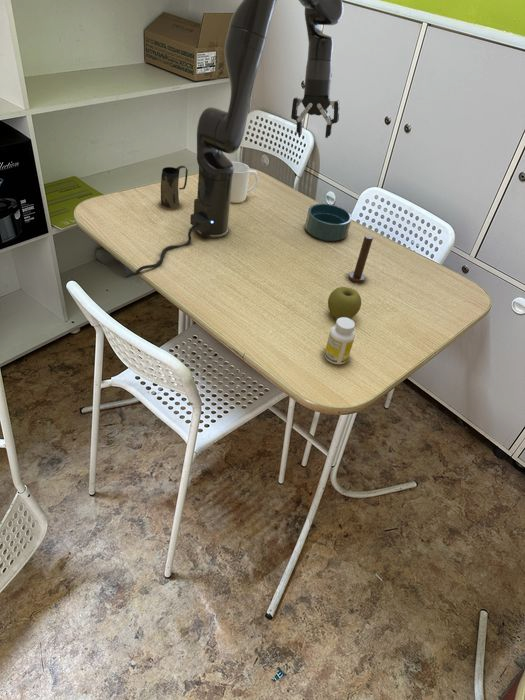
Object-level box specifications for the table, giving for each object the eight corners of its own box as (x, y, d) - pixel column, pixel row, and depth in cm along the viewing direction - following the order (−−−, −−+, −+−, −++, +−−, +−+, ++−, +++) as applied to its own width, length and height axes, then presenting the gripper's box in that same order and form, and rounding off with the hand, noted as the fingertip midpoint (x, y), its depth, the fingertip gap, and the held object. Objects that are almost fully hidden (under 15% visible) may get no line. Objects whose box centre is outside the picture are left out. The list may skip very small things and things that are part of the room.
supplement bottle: (345, 349, 119) (356, 316, 113) (349, 366, 115) (360, 332, 108) (322, 347, 118) (331, 314, 112) (325, 364, 114) (335, 330, 108)
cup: (217, 192, 171) (219, 161, 164) (251, 190, 175) (254, 161, 168) (225, 203, 165) (228, 173, 159) (260, 201, 170) (264, 171, 163)
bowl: (328, 247, 153) (332, 229, 149) (295, 228, 160) (299, 210, 156) (355, 235, 161) (360, 217, 157) (323, 217, 167) (327, 200, 163)
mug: (163, 210, 157) (164, 172, 149) (158, 202, 160) (158, 164, 152) (188, 208, 160) (190, 170, 152) (182, 199, 163) (183, 162, 156)
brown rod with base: (357, 285, 140) (370, 242, 131) (345, 277, 142) (357, 235, 134) (367, 280, 143) (380, 238, 134) (354, 272, 145) (367, 230, 136)
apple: (351, 329, 125) (358, 306, 120) (320, 317, 127) (326, 294, 122) (360, 313, 130) (367, 290, 126) (330, 302, 132) (336, 279, 127)
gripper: (291, 76, 150) (288, 136, 159) (340, 79, 147) (334, 140, 156) (297, 74, 156) (293, 132, 165) (344, 77, 153) (338, 136, 162)
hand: (313, 136), depth 161 cm, fingers open, 8 cm apart
